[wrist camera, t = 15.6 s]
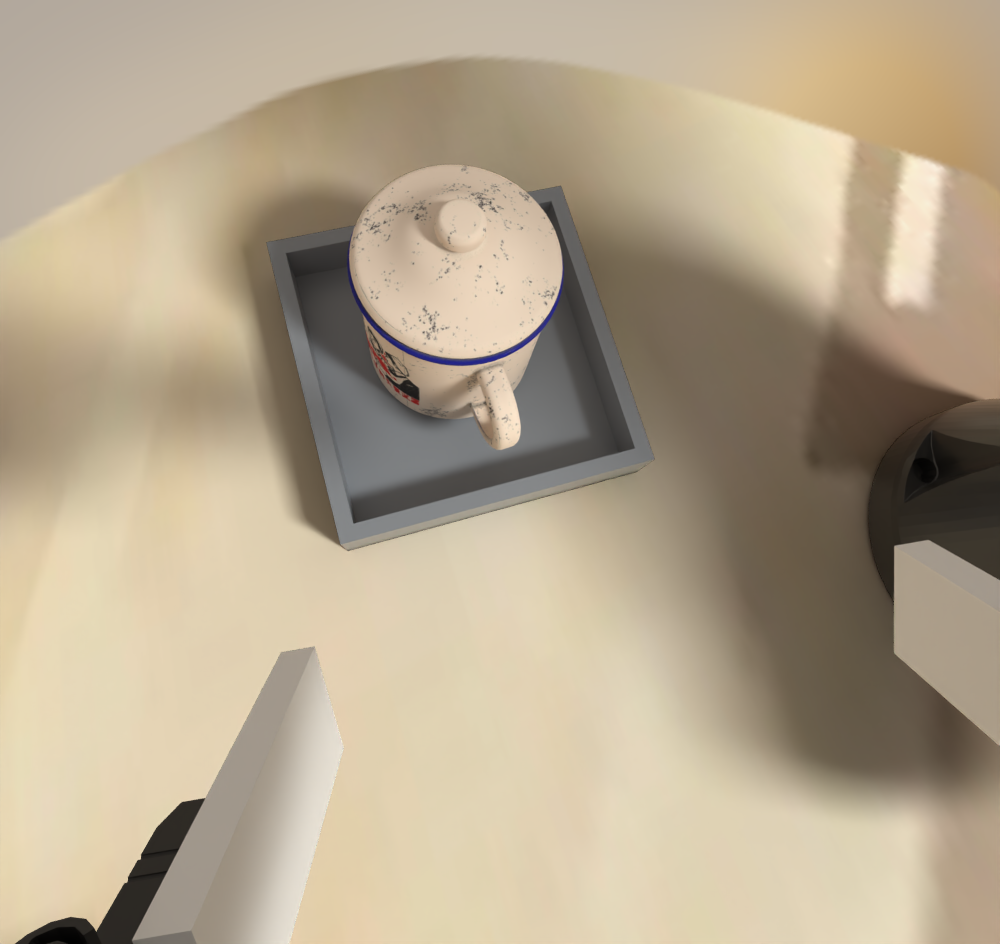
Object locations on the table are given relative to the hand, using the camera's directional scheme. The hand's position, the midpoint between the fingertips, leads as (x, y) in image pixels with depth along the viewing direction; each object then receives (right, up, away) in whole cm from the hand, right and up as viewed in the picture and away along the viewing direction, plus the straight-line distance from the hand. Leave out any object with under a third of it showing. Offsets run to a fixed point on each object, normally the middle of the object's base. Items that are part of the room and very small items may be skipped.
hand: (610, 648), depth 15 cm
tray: (-5, +9, +21) cm, 24 cm away
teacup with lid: (-5, +9, +21) cm, 23 cm away
